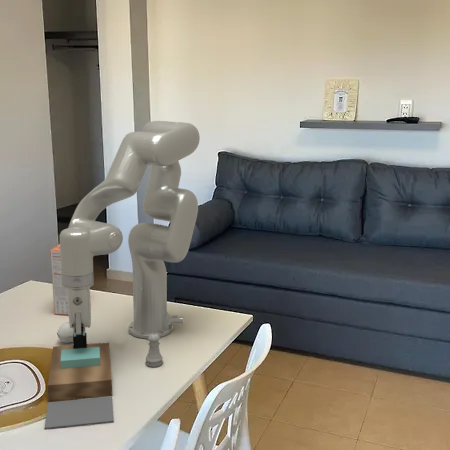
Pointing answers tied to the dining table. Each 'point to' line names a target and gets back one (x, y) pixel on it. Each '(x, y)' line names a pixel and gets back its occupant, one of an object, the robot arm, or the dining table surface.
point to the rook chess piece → (154, 351)
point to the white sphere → (65, 333)
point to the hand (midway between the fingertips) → (80, 349)
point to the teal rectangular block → (80, 357)
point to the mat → (79, 412)
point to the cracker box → (58, 283)
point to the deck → (80, 377)
